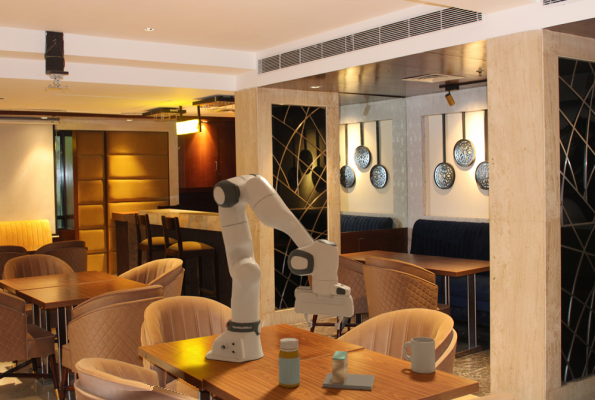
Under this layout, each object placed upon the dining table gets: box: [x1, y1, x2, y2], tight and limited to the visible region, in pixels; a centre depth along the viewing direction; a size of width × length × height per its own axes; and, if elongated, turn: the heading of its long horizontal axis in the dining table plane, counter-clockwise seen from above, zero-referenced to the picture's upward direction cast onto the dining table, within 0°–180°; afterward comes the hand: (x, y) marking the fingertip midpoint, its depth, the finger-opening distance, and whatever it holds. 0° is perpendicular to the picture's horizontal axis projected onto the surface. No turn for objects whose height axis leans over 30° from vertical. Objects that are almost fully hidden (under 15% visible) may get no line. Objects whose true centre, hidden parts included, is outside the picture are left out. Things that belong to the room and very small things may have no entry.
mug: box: [402, 336, 436, 374], centre depth 208 cm, size 12×8×11 cm
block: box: [331, 350, 349, 383], centre depth 195 cm, size 4×9×8 cm, turn 168°
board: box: [322, 372, 375, 391], centre depth 194 cm, size 16×12×1 cm
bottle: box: [278, 337, 301, 389], centre depth 192 cm, size 7×7×15 cm
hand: (323, 328), depth 196 cm, fingers open, 8 cm apart
